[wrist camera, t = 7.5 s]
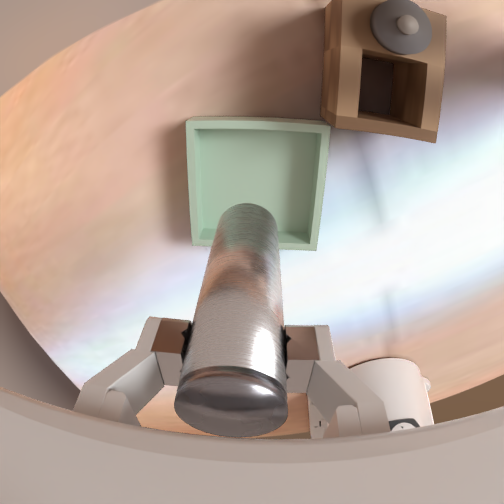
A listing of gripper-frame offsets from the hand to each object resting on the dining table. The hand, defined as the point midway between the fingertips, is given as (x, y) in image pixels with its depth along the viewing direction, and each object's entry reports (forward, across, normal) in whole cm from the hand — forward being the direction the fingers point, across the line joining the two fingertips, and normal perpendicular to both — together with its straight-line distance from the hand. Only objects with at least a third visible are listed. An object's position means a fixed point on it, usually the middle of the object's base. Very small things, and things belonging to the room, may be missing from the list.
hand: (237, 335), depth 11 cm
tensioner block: (+17, -8, -10) cm, 22 cm away
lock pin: (+7, 0, 0) cm, 7 cm away
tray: (+17, 0, 0) cm, 17 cm away
